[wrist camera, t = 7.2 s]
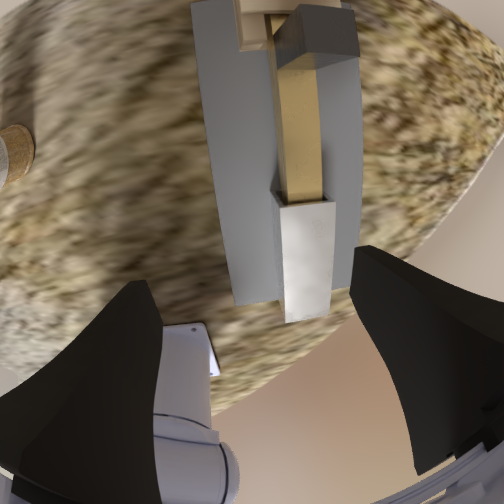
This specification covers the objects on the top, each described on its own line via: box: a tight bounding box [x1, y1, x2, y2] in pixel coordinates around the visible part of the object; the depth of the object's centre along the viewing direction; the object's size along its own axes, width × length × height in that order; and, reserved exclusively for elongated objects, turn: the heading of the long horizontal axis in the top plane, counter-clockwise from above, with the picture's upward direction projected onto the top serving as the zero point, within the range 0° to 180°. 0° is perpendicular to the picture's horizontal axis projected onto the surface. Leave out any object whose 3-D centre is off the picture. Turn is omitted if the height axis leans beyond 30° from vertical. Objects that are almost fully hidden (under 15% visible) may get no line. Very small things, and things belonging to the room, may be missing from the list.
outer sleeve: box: [269, 189, 336, 323], centre depth 18 cm, size 3×8×3 cm, turn 6°
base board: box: [190, 0, 363, 306], centre depth 17 cm, size 10×22×1 cm, turn 6°
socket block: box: [233, 0, 341, 52], centre depth 10 cm, size 5×4×4 cm
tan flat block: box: [264, 4, 360, 206], centre depth 11 cm, size 2×12×7 cm, turn 6°
